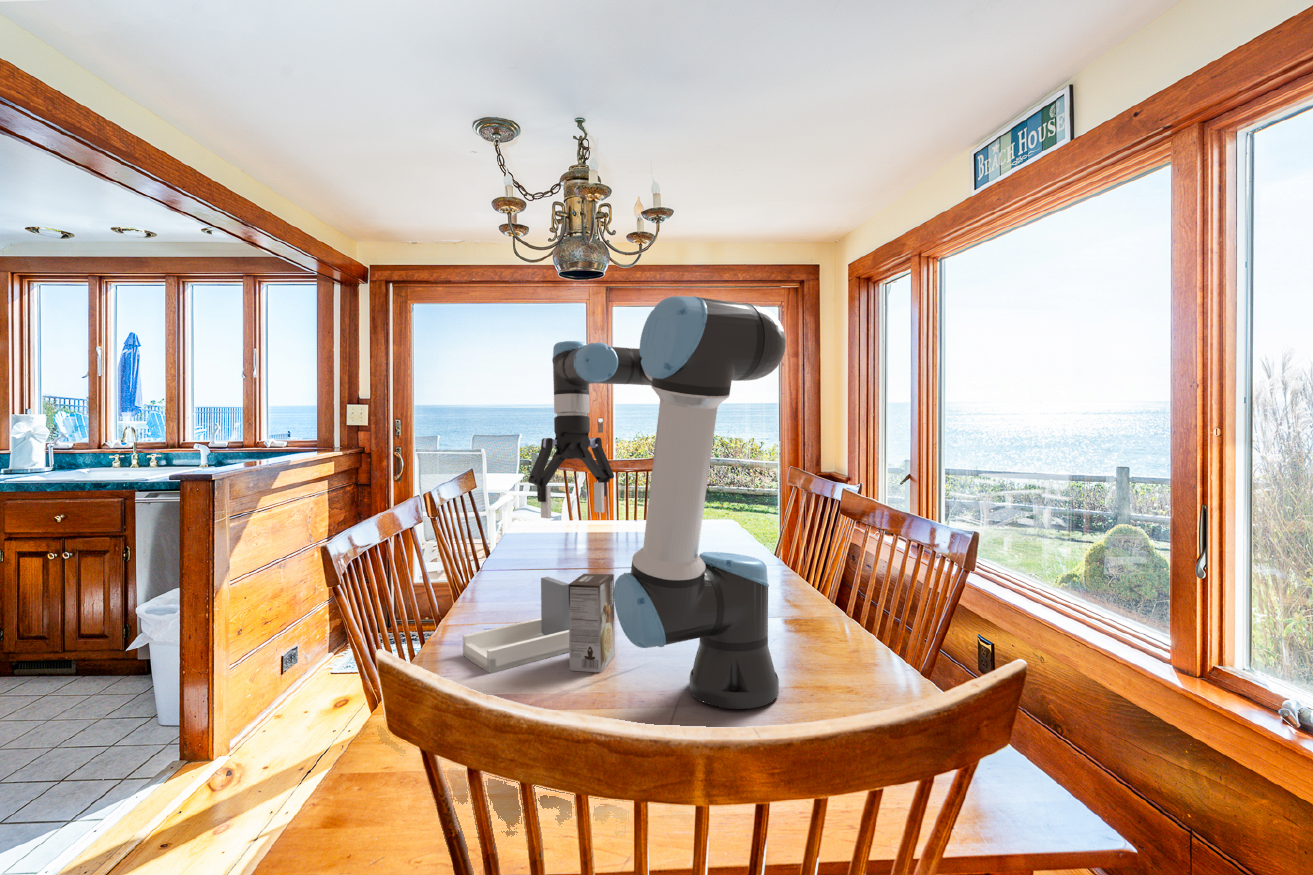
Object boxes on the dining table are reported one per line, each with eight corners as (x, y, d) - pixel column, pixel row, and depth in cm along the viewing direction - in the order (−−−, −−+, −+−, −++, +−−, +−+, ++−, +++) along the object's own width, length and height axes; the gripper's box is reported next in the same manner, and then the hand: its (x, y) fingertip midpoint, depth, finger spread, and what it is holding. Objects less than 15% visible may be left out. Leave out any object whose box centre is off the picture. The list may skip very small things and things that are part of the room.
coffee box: (584, 653, 124) (583, 572, 124) (615, 655, 122) (614, 573, 122) (568, 671, 115) (567, 583, 115) (602, 673, 113) (601, 585, 113)
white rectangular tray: (607, 641, 131) (606, 613, 130) (489, 673, 114) (489, 640, 114) (575, 628, 140) (575, 601, 140) (463, 655, 123) (462, 625, 123)
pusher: (570, 642, 127) (569, 584, 127) (563, 643, 126) (563, 585, 126) (548, 631, 133) (547, 576, 133) (541, 633, 132) (540, 577, 132)
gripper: (607, 416, 145) (609, 508, 145) (510, 415, 128) (512, 519, 128) (628, 415, 139) (630, 511, 139) (529, 413, 123) (531, 522, 123)
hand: (573, 515), depth 134 cm, fingers open, 13 cm apart
